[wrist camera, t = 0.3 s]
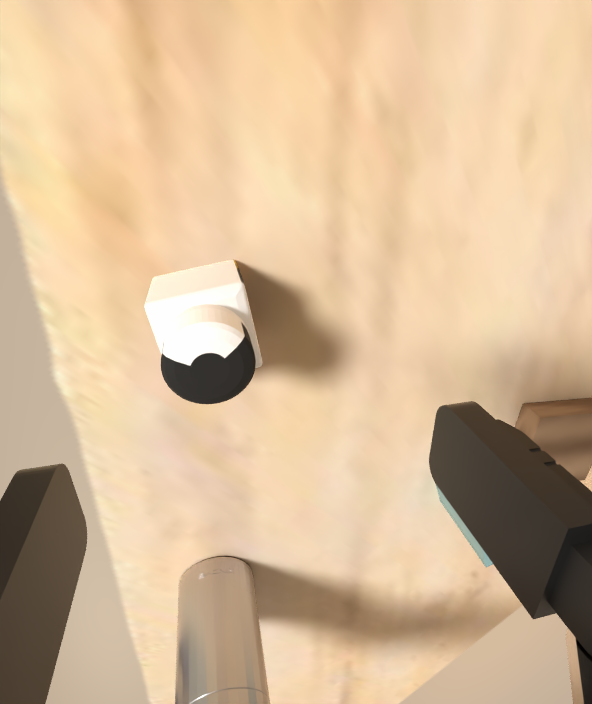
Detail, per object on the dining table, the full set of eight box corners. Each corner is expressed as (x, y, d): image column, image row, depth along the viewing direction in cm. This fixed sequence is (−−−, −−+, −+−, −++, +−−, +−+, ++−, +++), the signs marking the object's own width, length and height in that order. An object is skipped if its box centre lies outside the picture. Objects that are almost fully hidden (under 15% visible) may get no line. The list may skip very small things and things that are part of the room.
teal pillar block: (474, 485, 56) (526, 549, 47) (440, 500, 56) (486, 567, 47) (469, 460, 53) (523, 522, 45) (433, 476, 53) (481, 541, 45)
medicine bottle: (252, 331, 39) (274, 401, 29) (176, 350, 38) (170, 429, 28) (235, 257, 36) (252, 305, 25) (151, 276, 35) (133, 333, 24)
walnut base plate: (567, 464, 58) (584, 479, 56) (498, 472, 56) (513, 489, 53) (596, 397, 53) (617, 410, 51) (523, 403, 51) (541, 417, 48)
